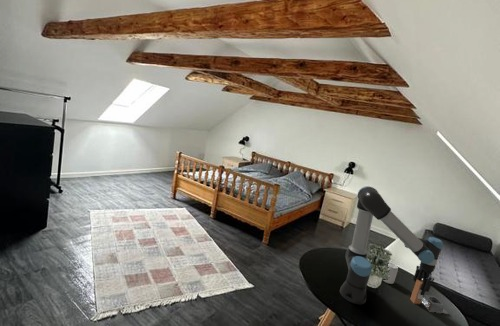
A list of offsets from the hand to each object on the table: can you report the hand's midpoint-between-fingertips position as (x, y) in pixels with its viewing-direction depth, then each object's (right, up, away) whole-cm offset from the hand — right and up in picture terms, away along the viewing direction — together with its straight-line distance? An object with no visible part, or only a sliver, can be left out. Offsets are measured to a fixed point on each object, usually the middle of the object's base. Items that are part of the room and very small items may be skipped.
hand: (416, 295), depth 174 cm
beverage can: (-9, +1, +19) cm, 21 cm away
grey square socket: (+9, -6, 0) cm, 11 cm away
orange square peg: (-1, -4, +1) cm, 4 cm away
